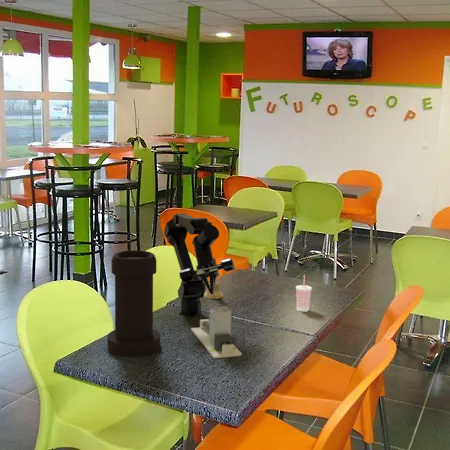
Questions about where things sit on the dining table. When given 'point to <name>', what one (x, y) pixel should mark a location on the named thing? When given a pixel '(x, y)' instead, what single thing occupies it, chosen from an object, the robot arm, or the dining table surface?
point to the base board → (204, 338)
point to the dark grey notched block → (222, 339)
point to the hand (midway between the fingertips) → (212, 294)
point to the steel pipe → (209, 331)
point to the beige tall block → (219, 323)
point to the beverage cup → (303, 296)
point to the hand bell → (217, 293)
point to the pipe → (133, 304)
